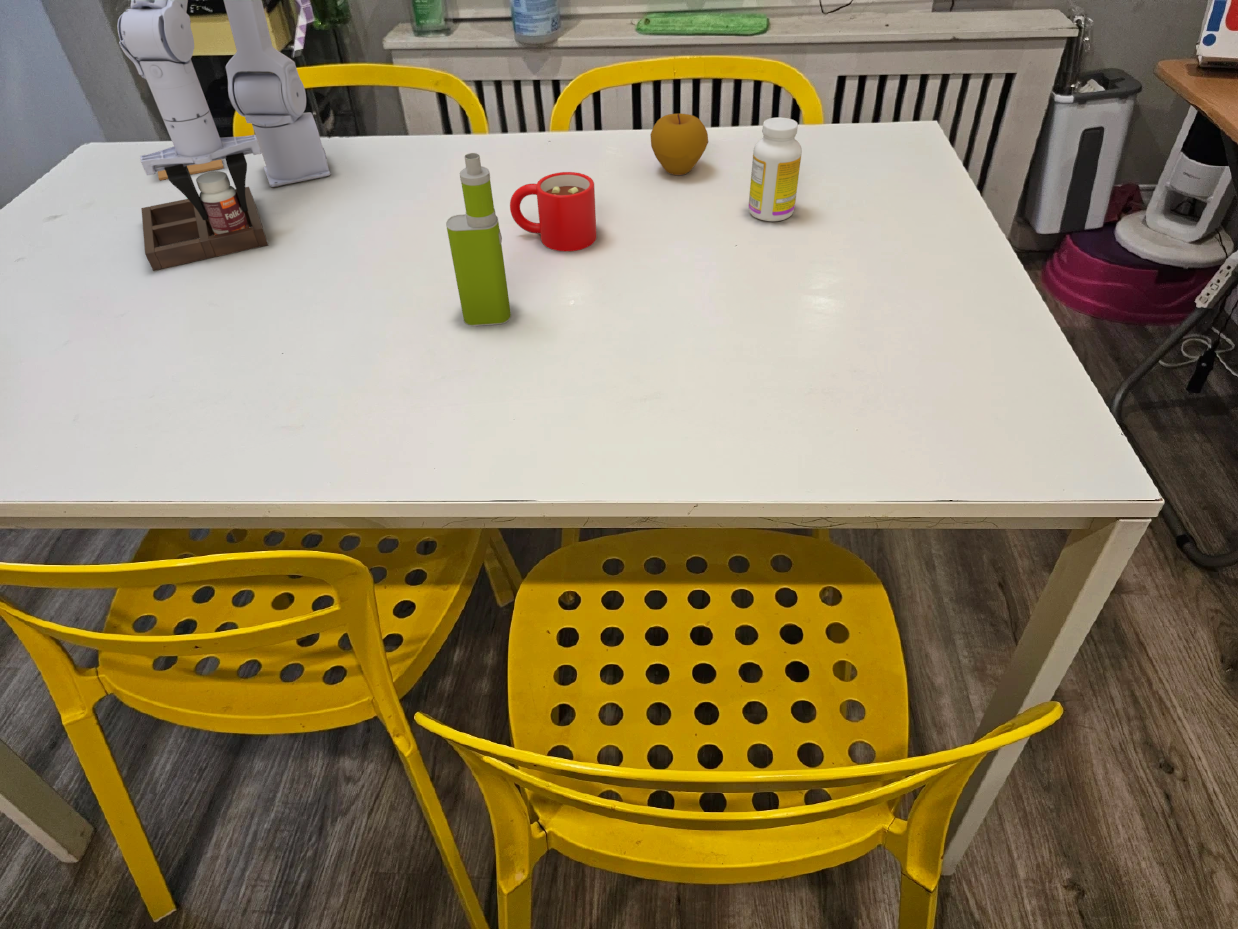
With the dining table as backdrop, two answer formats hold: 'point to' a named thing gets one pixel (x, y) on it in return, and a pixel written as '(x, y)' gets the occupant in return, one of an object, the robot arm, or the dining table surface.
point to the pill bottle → (221, 202)
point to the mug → (560, 210)
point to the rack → (194, 234)
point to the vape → (478, 250)
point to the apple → (678, 142)
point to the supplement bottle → (775, 171)
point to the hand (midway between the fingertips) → (224, 212)
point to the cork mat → (196, 168)
